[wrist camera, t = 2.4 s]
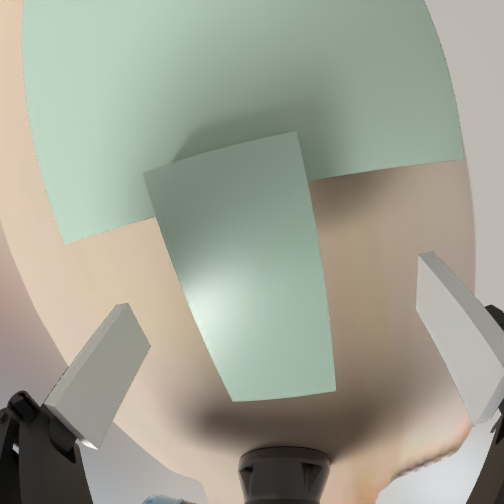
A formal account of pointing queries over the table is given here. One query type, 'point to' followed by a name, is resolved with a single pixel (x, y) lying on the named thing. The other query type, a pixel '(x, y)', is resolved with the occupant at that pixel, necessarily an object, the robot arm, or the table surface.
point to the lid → (233, 147)
